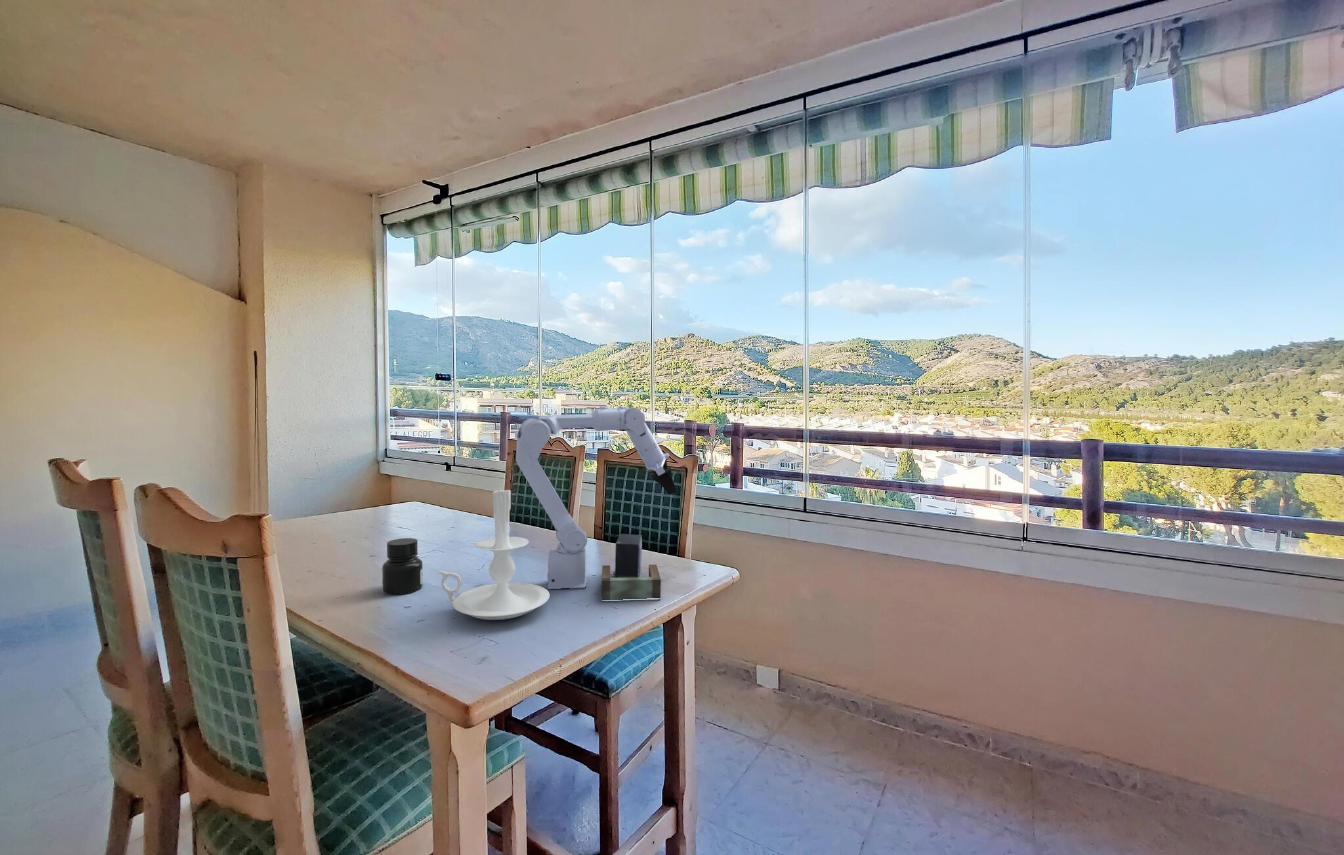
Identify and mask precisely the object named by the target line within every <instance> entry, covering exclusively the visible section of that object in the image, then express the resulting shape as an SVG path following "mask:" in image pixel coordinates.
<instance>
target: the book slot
mask: <svg viewBox="0 0 1344 855" xmlns="http://www.w3.org/2000/svg"><path fill="white" fill-rule="evenodd" d="M601 566H602V568H601V601H602V600H623V599H647V598H661V595H662V594H661V591H662V590H661V589H662V588H661V587H662V586H661V585H662V584H661V582H662V579H661V576H660V570H659V567H658V565H657V564H648V576H639V577H630V578H615V577H611V565H609V564H608V565H607V564H606V565H601Z"/></svg>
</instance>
